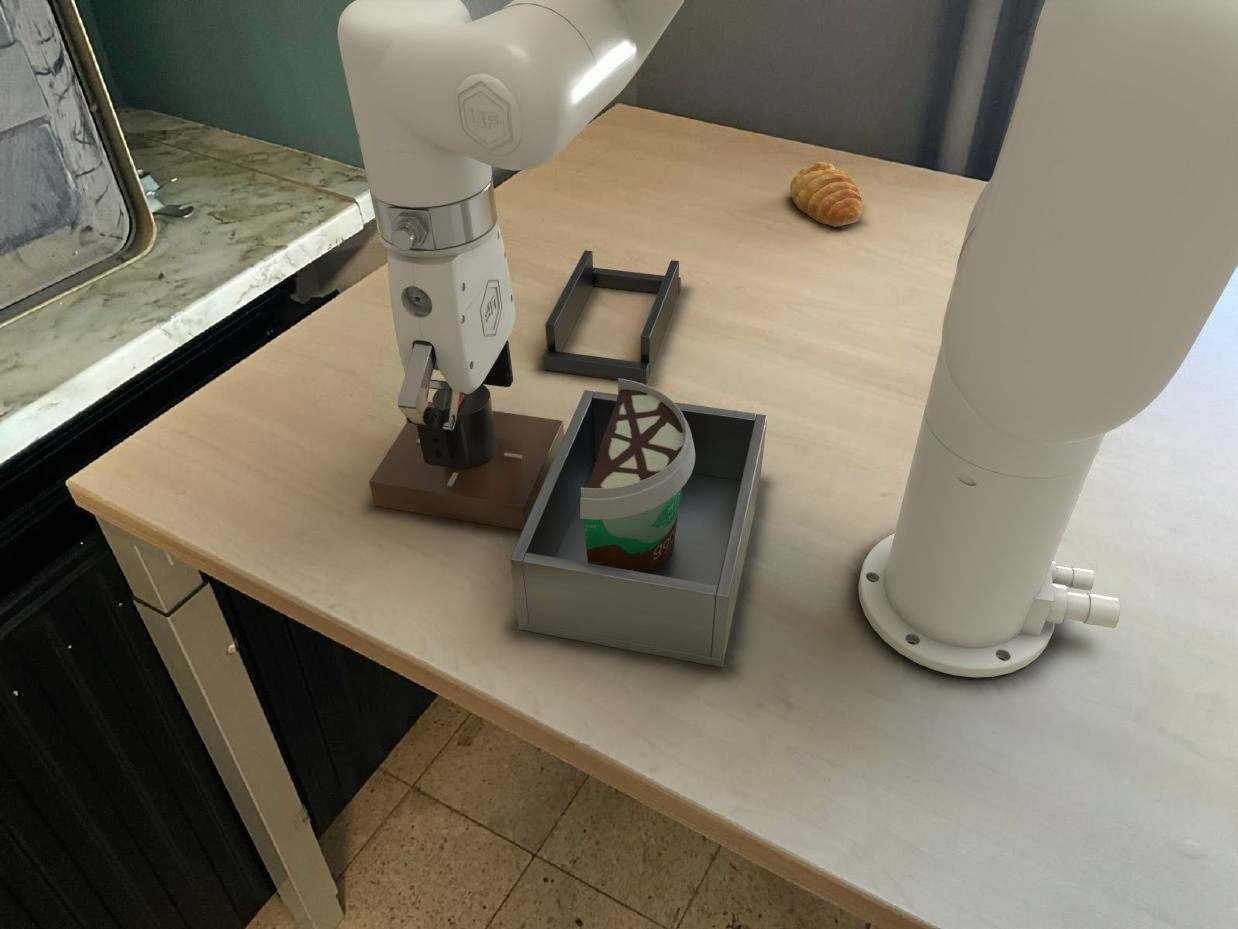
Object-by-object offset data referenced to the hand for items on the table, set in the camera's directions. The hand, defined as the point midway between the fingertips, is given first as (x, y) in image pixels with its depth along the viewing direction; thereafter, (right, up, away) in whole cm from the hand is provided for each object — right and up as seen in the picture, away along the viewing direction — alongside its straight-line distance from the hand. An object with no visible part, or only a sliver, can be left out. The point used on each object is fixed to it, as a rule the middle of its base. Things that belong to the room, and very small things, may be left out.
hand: (471, 421), depth 74 cm
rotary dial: (0, -4, +4) cm, 5 cm away
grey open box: (+13, -9, -3) cm, 16 cm away
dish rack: (+11, +9, +19) cm, 23 cm away
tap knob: (0, -2, +2) cm, 3 cm away
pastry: (+34, +25, +36) cm, 55 cm away
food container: (+13, -9, -3) cm, 16 cm away
